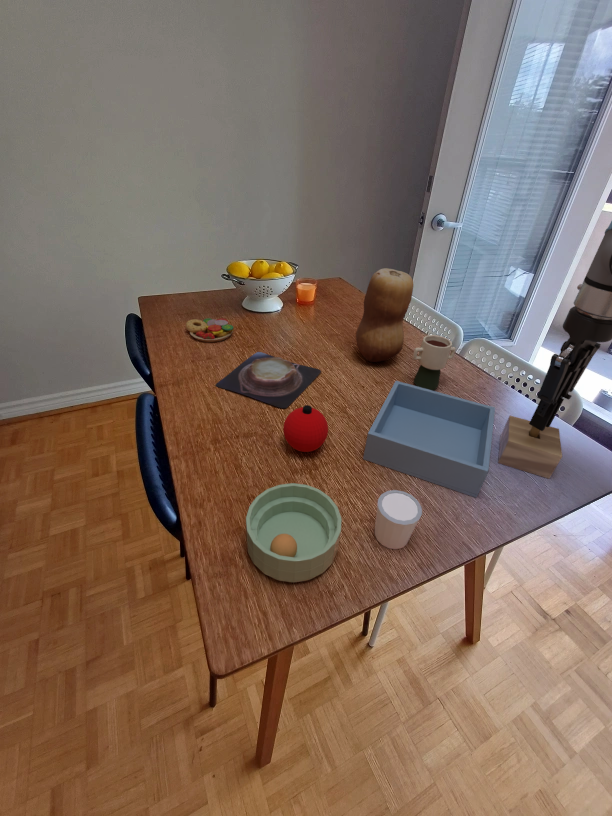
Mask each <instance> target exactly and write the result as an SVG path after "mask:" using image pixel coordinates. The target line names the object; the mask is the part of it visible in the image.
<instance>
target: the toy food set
mask: <svg viewBox="0 0 612 816" xmlns="http://www.w3.org/2000/svg"><path fill="white" fill-rule="evenodd" d="M185 329H186V330H187V331H188V332H189V334H190V336H191V337H192V338H194V339H195V340H197V341H200V342H204V343H218V342H222V341H225V340H226V339H229V337H230V336H231V335H232V334H233V332H234V325H232V324H229V320H228V319H227V318H223V317H222V318H221V317H219V318H217V319H215V318H214V319H213V318H210V317H209V318H208V317H206V318H204V319H203V320H201V319H196V318H194V319H189V320H187V321H186V323H185Z"/></svg>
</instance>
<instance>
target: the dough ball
mask: <svg viewBox="0 0 612 816" xmlns="http://www.w3.org/2000/svg"><path fill="white" fill-rule="evenodd" d="M270 551H271V552H273V553H276V554H278V555H280V556H288V557H294V556H295V555H296V552H297V543H296V541H295V539H294V538H293V537H292V536H291V535H288V534H280V535H277V536H276V537H275V538H274V539H273V540H272V542H271V546H270Z"/></svg>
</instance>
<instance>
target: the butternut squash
mask: <svg viewBox="0 0 612 816" xmlns="http://www.w3.org/2000/svg"><path fill="white" fill-rule="evenodd" d="M413 291H414V280H413V278H412V276H411V275H410V274H408V273H407V272H404V271H401V270H397V269H393V268H387V267H385V268H384V267H383V268H380V269H378V270H377V271H375V272H374V273H373V274H372V275H371V278H370V280H369V282H368V286H367V289H366V291H365V295H364V300H363V314H362V318H361V320H360V323H359V324H358V327H357V329H356V331H355V332H356V333H355V342H356V346H357V350H358V351H359V353H360V354H361V355H362V356H363V357H364V359H366V360H367V361H368V362H371V363H380V362H385V361H388V360H391V359H393V358H394V357H396V356H397V355H398V354H400V352H401V351H402V350H403V346H404V339H405V332H404V319H405V316H406V315H407V312H408V309H409V307H410V304H411V301H412V297H413Z"/></svg>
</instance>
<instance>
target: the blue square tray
mask: <svg viewBox="0 0 612 816" xmlns="http://www.w3.org/2000/svg"><path fill="white" fill-rule="evenodd" d="M495 415H496V407H495V406H492V405H487V404H485V403H480V402H477V401H472V400H469V399H465V398H462V397H458V396H454V395H451V394H447V393H443V392H439V391H436V390H429V389H425V388H421V387H418V386H417V385H413V384H410V383H406V382H402V381H399V380H395V381H394V383H393V385H392V387H391V389H390V390H389V392H388V395H387V396H386V399H385V400H384V402H383V404H382V406H381V407H380V409H379V412H378V413H377V415H376V417H375V419H374V421H373V423H372V424H371V427H370V428H369V430H368V433H367V436H366V441H365V445H364V451H363V456H362V460H364V461H367V462H369V463H372V464H375V465H379V466H382V467H385V468H388V469H390V470H394V471H396V472H400V473H402V474H405V475H408V476H411V477H413V478H417V479H420V480H423V481H426V482H429V483H431V484H433V485H437V486H440V487H444V488H446V489H449V490H451V491H454V492H458V493H461V494H464V495H467V496H470V497H472V498H475V499H476V498H478V496H479V494H480V491H481V489H482V487H483V485H484V482H485V480H486V479H487V475H488V474H489V470H490V461H491V451H492V443H493V431H494V423H495V422H494V421H495Z"/></svg>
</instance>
